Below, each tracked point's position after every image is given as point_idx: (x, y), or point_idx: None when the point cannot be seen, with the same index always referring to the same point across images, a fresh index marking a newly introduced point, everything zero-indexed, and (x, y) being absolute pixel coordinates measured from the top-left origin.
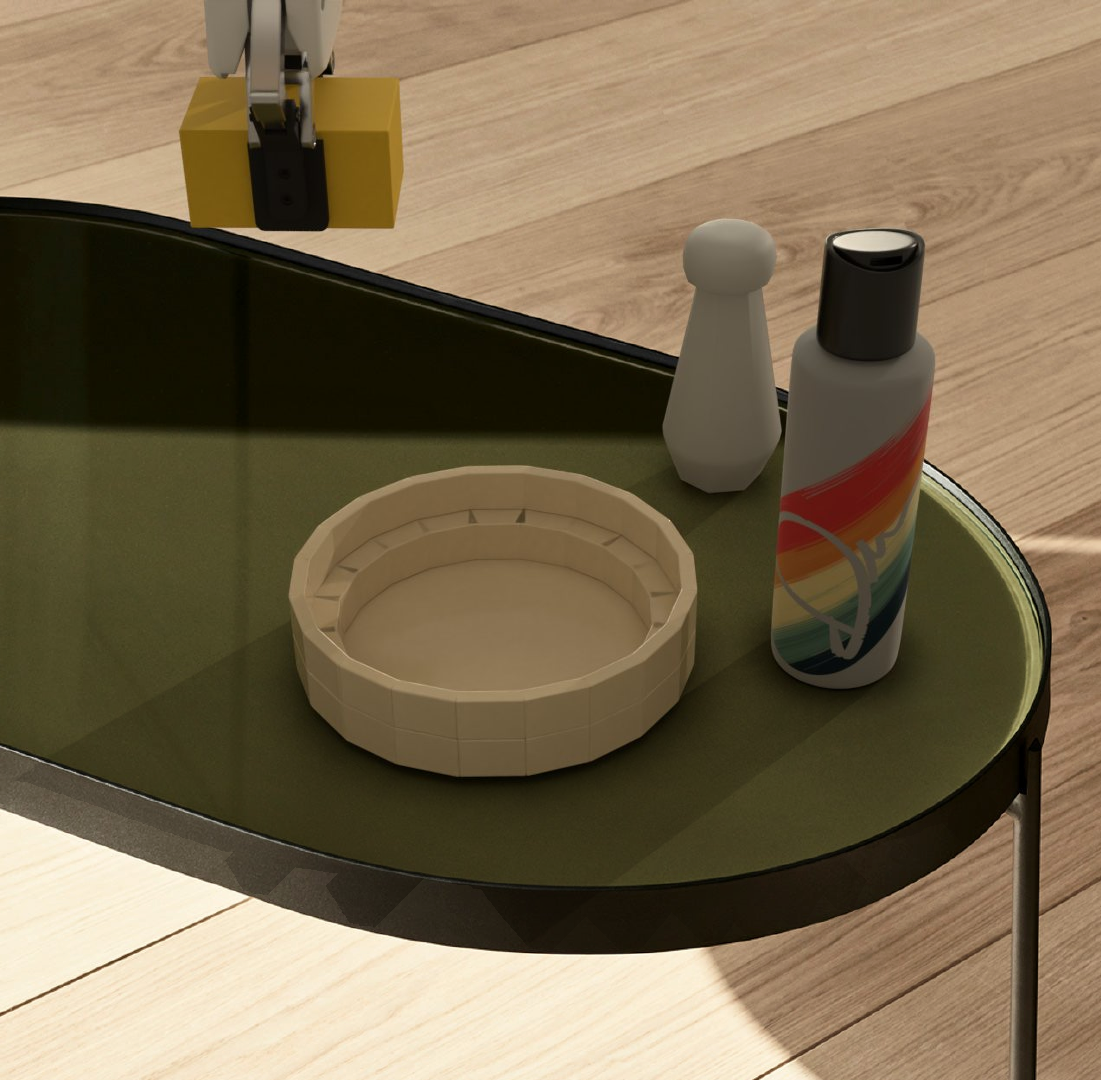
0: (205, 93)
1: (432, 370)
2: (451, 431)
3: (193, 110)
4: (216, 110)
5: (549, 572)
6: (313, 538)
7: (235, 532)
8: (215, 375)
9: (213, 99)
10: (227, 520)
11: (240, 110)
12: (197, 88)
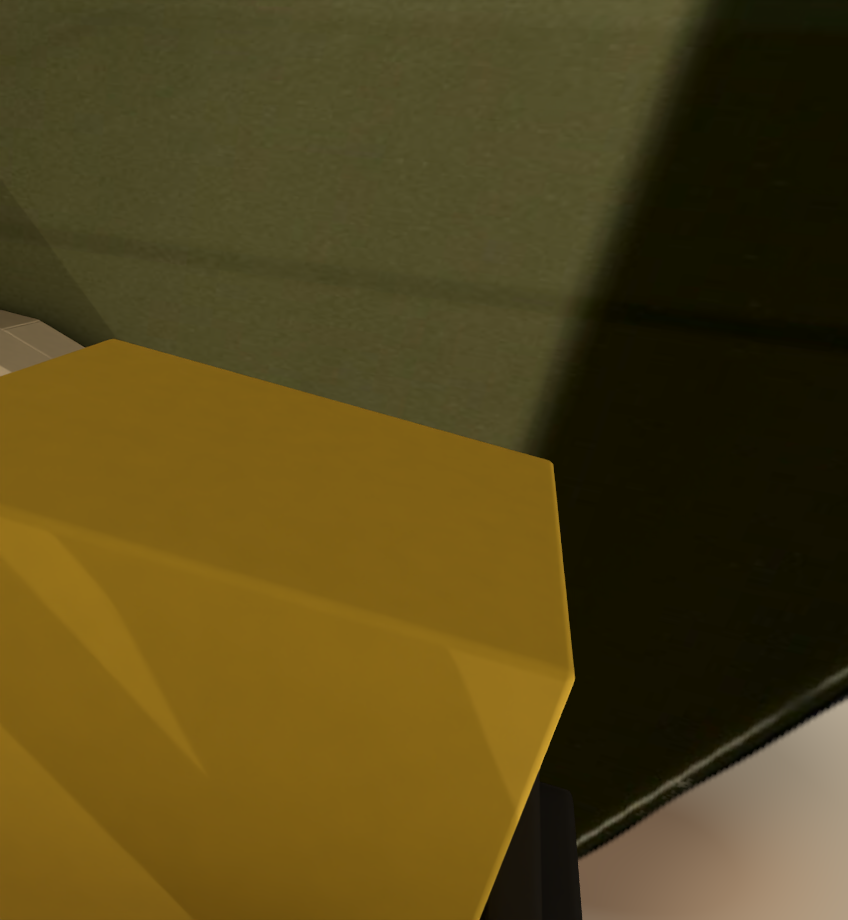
0: (298, 662)
1: (674, 610)
2: None
3: (50, 564)
4: (45, 673)
5: None
6: (2, 375)
7: (307, 261)
8: (798, 286)
9: (207, 684)
10: (340, 253)
11: (41, 773)
12: (379, 635)
